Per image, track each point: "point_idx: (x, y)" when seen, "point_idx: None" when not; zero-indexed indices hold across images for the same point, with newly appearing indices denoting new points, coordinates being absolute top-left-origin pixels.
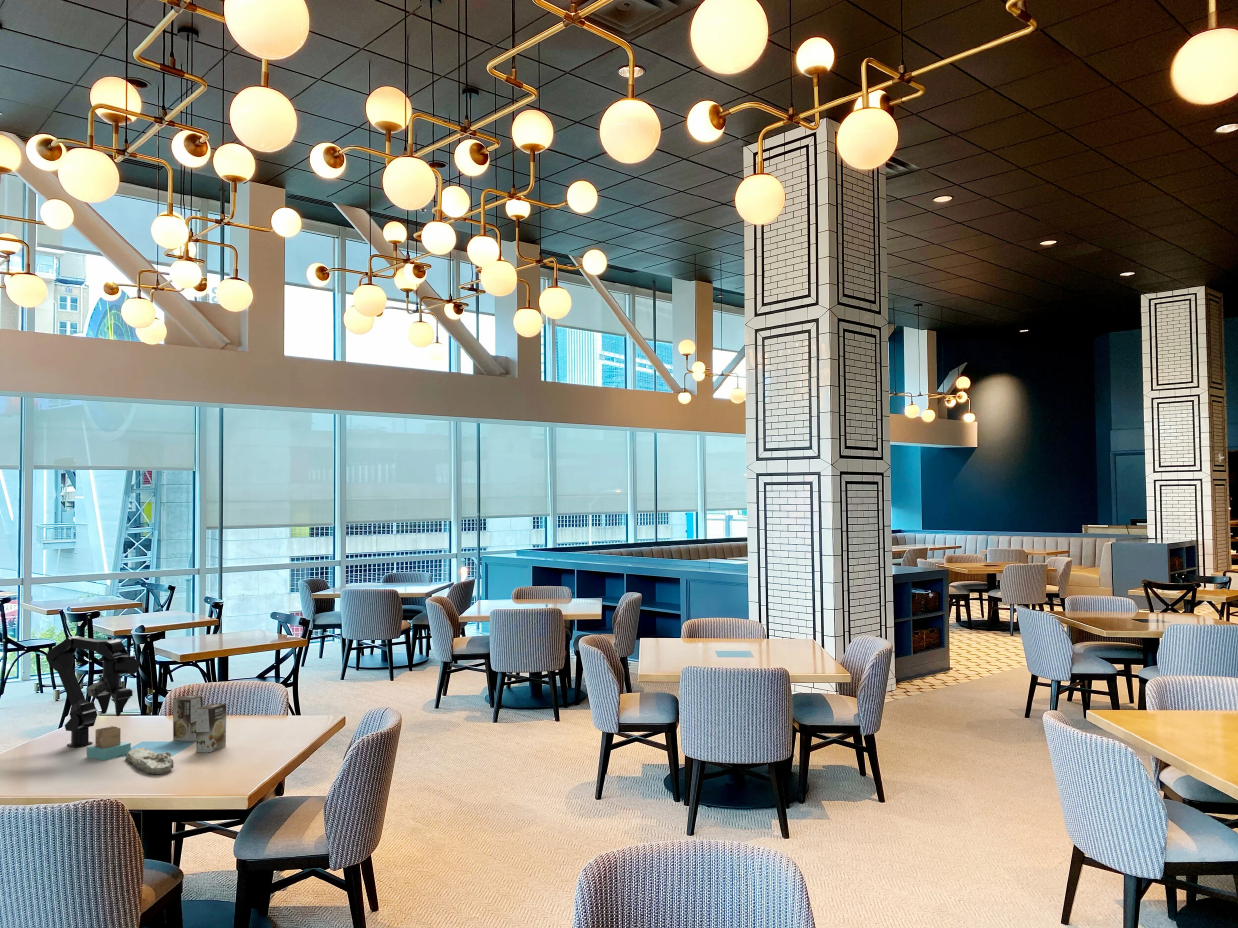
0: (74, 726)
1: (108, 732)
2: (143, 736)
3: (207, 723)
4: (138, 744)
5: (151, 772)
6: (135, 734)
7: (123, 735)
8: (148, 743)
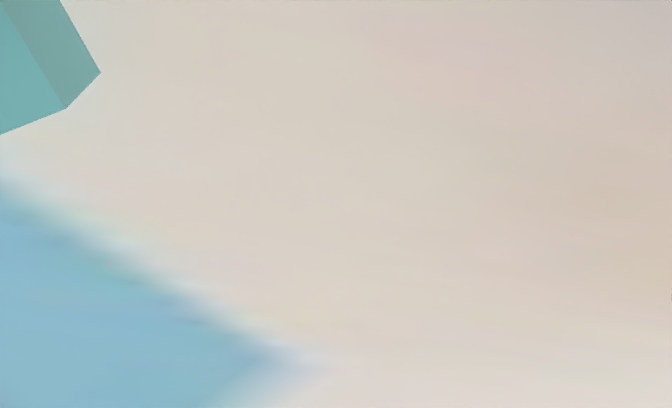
0: None
1: None
2: (472, 396)
3: None
4: (186, 318)
5: None
6: (604, 367)
7: (668, 295)
8: (160, 382)
